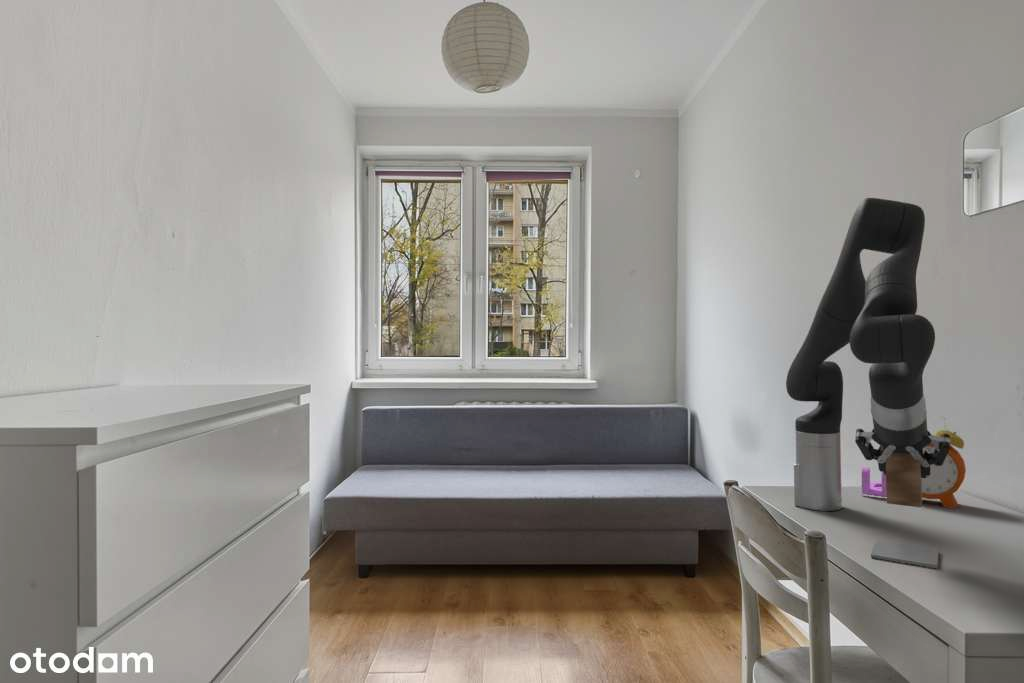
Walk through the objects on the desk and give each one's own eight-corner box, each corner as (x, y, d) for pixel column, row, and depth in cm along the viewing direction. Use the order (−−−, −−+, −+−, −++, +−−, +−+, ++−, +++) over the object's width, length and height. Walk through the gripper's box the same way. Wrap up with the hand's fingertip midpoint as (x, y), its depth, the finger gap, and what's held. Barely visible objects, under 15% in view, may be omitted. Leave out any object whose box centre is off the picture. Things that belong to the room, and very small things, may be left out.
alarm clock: (894, 500, 143) (892, 416, 143) (898, 495, 147) (897, 413, 148) (964, 510, 134) (962, 420, 134) (966, 504, 139) (964, 417, 139)
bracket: (888, 500, 144) (888, 470, 144) (861, 496, 147) (861, 468, 147) (893, 489, 155) (893, 461, 155) (868, 486, 158) (868, 459, 158)
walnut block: (886, 503, 106) (885, 440, 106) (889, 497, 110) (887, 436, 110) (921, 507, 103) (919, 442, 103) (922, 501, 107) (920, 439, 107)
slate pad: (870, 557, 106) (870, 554, 106) (876, 543, 113) (876, 539, 113) (937, 569, 100) (937, 565, 100) (938, 552, 108) (938, 549, 108)
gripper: (952, 395, 97) (953, 459, 106) (850, 392, 105) (859, 451, 115) (953, 432, 92) (954, 495, 102) (846, 426, 101) (857, 485, 110)
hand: (904, 472), depth 108 cm, fingers closed on walnut block, 5 cm apart
